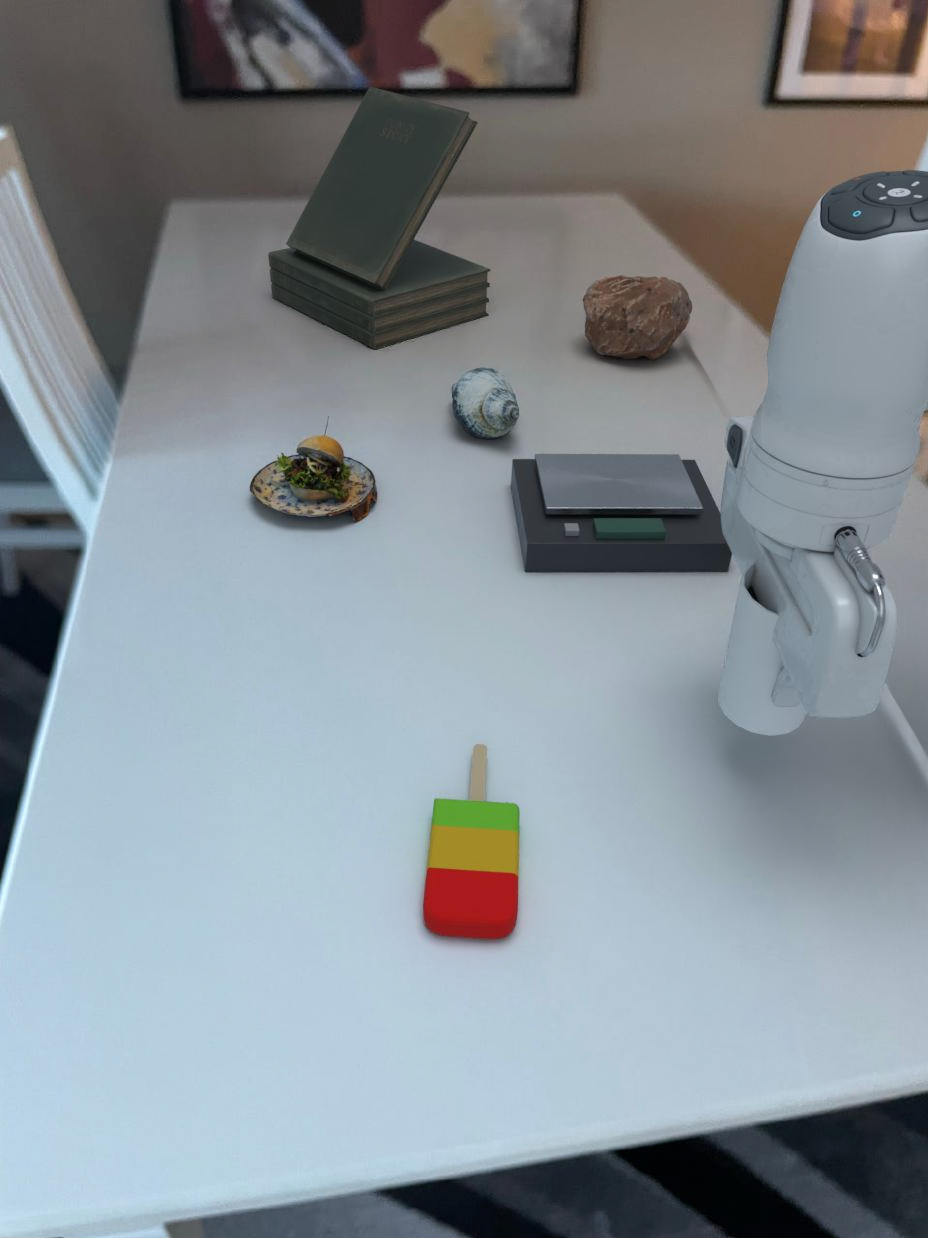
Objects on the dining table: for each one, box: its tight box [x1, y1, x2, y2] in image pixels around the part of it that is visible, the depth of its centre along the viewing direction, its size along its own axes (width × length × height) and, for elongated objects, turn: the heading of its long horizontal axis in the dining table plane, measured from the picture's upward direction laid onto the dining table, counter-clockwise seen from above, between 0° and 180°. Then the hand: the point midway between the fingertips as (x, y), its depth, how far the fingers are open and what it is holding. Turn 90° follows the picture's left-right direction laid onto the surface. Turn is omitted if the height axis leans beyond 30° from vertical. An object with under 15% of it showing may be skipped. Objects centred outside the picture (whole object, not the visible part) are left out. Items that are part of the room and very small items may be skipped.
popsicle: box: [422, 743, 521, 940], centre depth 63 cm, size 6×15×2 cm, turn 177°
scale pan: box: [533, 453, 703, 515], centre depth 92 cm, size 14×10×1 cm
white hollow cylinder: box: [717, 561, 808, 737], centre depth 64 cm, size 7×7×10 cm
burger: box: [249, 415, 378, 523], centre depth 93 cm, size 12×12×8 cm
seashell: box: [451, 367, 520, 440], centre depth 107 cm, size 6×8×12 cm
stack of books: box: [267, 86, 491, 350], centre depth 129 cm, size 23×20×25 cm
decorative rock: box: [582, 274, 693, 360], centre depth 123 cm, size 13×11×10 cm
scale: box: [510, 458, 733, 573], centre depth 92 cm, size 18×15×4 cm
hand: (770, 671), depth 65 cm, fingers closed on white hollow cylinder, 4 cm apart
